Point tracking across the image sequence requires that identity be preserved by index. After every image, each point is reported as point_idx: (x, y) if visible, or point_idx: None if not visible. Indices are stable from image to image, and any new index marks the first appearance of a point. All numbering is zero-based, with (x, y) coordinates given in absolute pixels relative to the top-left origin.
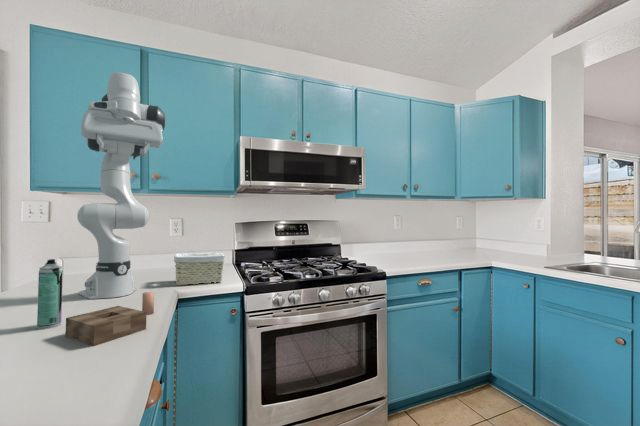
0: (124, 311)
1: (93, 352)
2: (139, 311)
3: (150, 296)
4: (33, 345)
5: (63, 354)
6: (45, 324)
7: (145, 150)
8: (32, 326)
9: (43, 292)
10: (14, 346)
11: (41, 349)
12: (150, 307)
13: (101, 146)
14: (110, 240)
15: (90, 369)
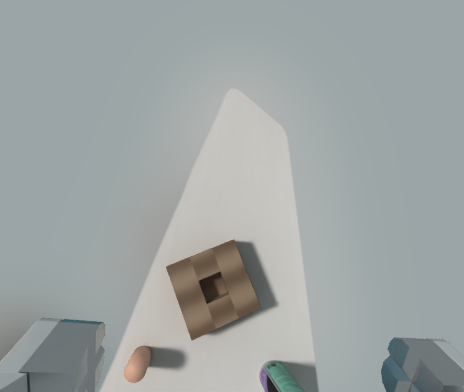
0: (191, 292)
1: (232, 219)
2: (173, 277)
3: (134, 358)
4: (283, 289)
5: (257, 234)
6: (278, 363)
7: (22, 348)
8: None
9: (299, 386)
10: (300, 299)
11: (275, 267)
12: (138, 350)
13: (456, 349)
14: None
15: (238, 176)
